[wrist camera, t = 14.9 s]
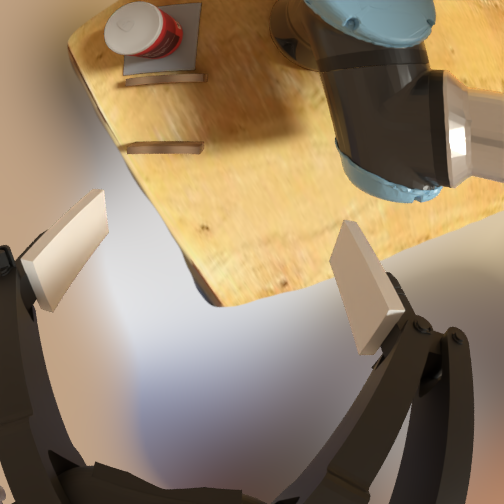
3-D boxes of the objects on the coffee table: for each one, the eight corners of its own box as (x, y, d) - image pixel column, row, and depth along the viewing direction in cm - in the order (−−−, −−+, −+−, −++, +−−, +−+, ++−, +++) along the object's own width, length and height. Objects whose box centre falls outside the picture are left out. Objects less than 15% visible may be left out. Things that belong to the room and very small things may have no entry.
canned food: (145, 15, 27) (114, 0, 18) (191, 20, 29) (170, 2, 20) (130, 56, 32) (95, 52, 23) (175, 63, 33) (149, 58, 24)
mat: (201, 3, 27) (200, 2, 27) (195, 70, 34) (194, 69, 34) (129, 12, 27) (128, 11, 27) (124, 75, 34) (123, 75, 33)
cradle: (207, 74, 35) (203, 73, 32) (203, 148, 42) (199, 154, 39) (135, 78, 34) (125, 78, 31) (135, 148, 41) (127, 154, 38)
